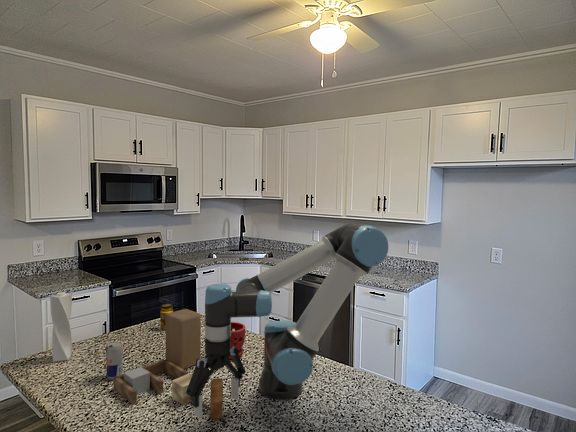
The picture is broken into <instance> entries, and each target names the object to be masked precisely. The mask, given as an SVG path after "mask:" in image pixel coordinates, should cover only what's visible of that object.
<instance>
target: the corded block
mask: <svg viewBox="0 0 576 432" xmlns="http://www.w3.org/2000/svg"><path fill="white" fill-rule="evenodd" d="M191 377H192V375H190V374H188V373H187V375H184V376H182V377H180V378H177V379H176V378H174V379H173V380H172V381H171V399H172V400H173V401H175V402H176V403H179V404H180V405H182V406H185V405H187V404H189V403H191V402H192V397H190V396H189V395H187V394H186V391H187V388H188V385H189V383H190V380H191ZM223 395H224V380H223V379H222V378H217V377H216V378H215V377H214V378H212V379H211V380H210V406H209V405H207V403H205V402H202V408H203V409H206V410H207V411H209V412H210V413H209V414H210V419H211V420H213V421H220V420H221V419H223V417H224V416H223V413H224V409H223V408H224V405H223V404H224V403H223V401H224V398H223V397H224V396H223Z"/></svg>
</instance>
